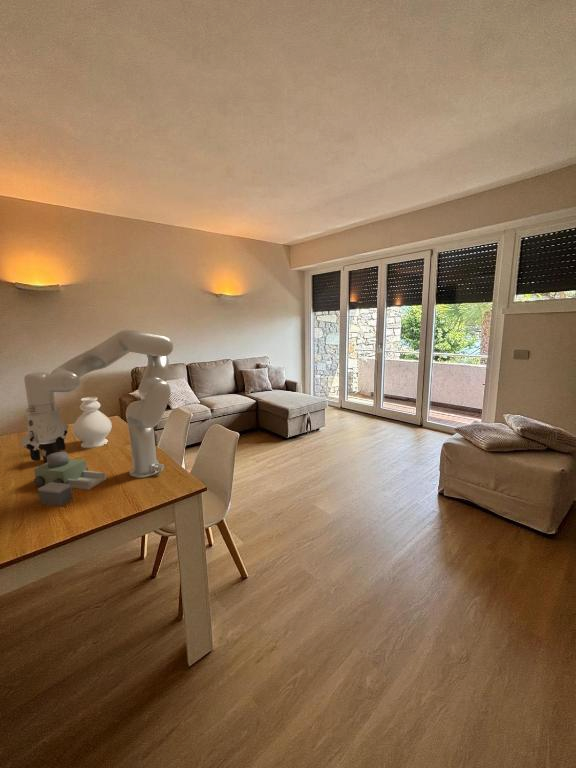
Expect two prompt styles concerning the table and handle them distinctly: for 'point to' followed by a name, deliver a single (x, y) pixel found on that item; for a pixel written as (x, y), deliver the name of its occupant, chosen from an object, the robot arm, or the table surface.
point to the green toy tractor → (67, 472)
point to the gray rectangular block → (55, 494)
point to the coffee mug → (48, 448)
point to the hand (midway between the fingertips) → (49, 454)
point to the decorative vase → (92, 424)
